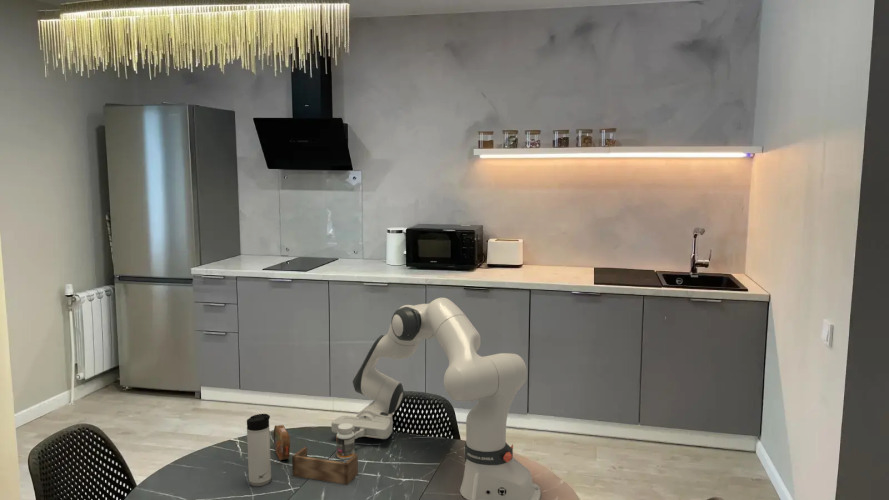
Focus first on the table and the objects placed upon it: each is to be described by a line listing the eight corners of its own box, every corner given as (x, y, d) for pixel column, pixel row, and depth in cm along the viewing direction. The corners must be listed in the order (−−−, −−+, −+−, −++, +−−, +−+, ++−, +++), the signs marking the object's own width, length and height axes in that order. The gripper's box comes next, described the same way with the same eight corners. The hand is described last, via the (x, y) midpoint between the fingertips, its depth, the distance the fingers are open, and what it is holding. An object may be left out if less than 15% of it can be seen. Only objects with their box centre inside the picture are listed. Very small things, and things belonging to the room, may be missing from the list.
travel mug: (266, 487, 182) (263, 420, 180) (244, 485, 183) (242, 418, 181) (276, 477, 188) (273, 412, 186) (255, 475, 189) (253, 410, 187)
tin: (273, 446, 210) (272, 421, 209) (282, 444, 211) (281, 420, 210) (281, 465, 196) (280, 438, 195) (292, 463, 198) (291, 437, 197)
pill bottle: (333, 455, 203) (332, 425, 202) (349, 450, 207) (348, 421, 205) (342, 461, 199) (341, 431, 197) (358, 456, 202) (357, 426, 201)
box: (358, 473, 190) (357, 454, 190) (347, 484, 184) (347, 464, 183) (304, 465, 196) (304, 446, 195) (292, 475, 189) (292, 456, 188)
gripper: (341, 408, 222) (322, 423, 209) (396, 415, 215) (379, 430, 202) (342, 426, 222) (322, 441, 209) (396, 433, 216) (380, 449, 203)
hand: (351, 436), depth 206 cm, fingers closed
